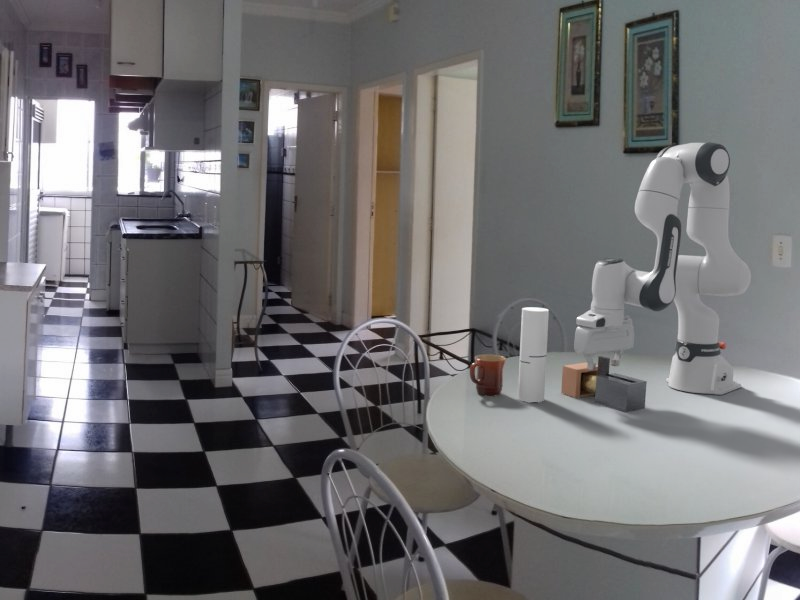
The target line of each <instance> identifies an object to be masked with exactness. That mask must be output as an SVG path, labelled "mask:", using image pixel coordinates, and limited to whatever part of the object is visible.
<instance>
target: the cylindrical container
mask: <svg viewBox="0 0 800 600" xmlns="http://www.w3.org/2000/svg"><path fill="white" fill-rule="evenodd" d="M549 313H550V310H549V309H548V308H545V307H544V308H543V307H536V306H535V307H534V306H530V307H527V306H525V307H522V308H521V324H520V341H519V342H520V344H519V345H520V346H519V361H518V363H519V365H518V367H519V368H518V386H517V399H519V400H518V401H520V400H521V402H523V401H525V403H530V402H538V403H542V401H543V402H544V401H545V391H546V389H545V387H546V370H547V369H546V368H547V353H548V352H547V350H548V332H549V331H548V330H549V315H550V314H549Z"/></svg>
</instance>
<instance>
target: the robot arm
mask: <svg viewBox="0 0 800 600" xmlns="http://www.w3.org/2000/svg"><path fill="white" fill-rule="evenodd" d="M730 163H731V158H730V154H729V152H728V150H727V148H726V147H725V146H724V145H723V144H720V143H717V142H713V141H712V142H711V141H709V142H689V143H683V144H678V145H676V144H675V145H670V146H666V147H664V148H663V149H662V150H660V151H659V152H658V154H657V155H656V158H655V159H652V161H651V162H650V163H649V165H648V167H647V168H646V171H645V173H644V175H643V176H642V177H643V178H642V179H641V180H642V181H641V183H640V185H639V189H638V192H637V195H636V197H635V203H634V214H635V216H636V218H637V220H638V221H639V222H640V223H641V224H642V226H645V228H647V229H649V230H650V231H652V232H653V234H654V235H655V236H656V239H657V246H656V251H655V252H656V253H655V260H654V267H653V269H652V271H645V270H644V271H643V270H639V269H635V268H633V267H631V266H630V265H628V264H627V263H626V262H625V259H623V258H621V257H606V258H602V259H600V260H598V261H597V262H596V264H595V266H594V269H593V272H592V273H593V274H592V281H591V294H592V299H591V300H592V301H591V304H590V310H589V309H588V311H585V312H584V313H583V314H581V315H579V316H578V317H576V320H575V323H576V325H578V326H577V327H576V328H575V333H574V344H573V347H574V349H573V350H574V351H575V353H577V354H578V355H582V356H584V358H585V361H586V362H587V363H588V364H587V368H588V369H589V370H594V369H596V365H597V363H596V362H594V358H595V355H596V354H603V353H611V352H614V353H615V354H614V357H613V358H610V364H611V365H610V366H612V367H619V366H620V363H621V359H622V357H623V355H624V353H625V352H624V351H625V350H631V349H633V347H634V345H635V329H634V328H635V327H634V325H633V319H632V318H631V317H630V316H629V315H625V304H627V305H631V306H636V307H639V308H644V309H646V310H651V311H654V312H661V311H664V310H665V309H667V308H668V307H669V306H670V305H671V304H672V303H673V302H674V304H675V306H676V309H677V316H678V317H677V319H678V321H677V322H678V325H677V328H678V329H677V338H676V340H675V343H674V346H675V347H674V351H675V354H673V356H672V359H671V364H670V369H669V370H670V372H669V376H668V377H666V380H665V381H666V382H667V385H668V386H669V388H672V389H675V390H678V391H682V392H685V393H686V392H687V393H693V394H695V393H696V394H709V395H720V396H721V395H725V394H727V393H729V392H732V391H736V390H737V389H741V388H742V383H740V382H738V381H735V380H734V367H733V366H732V365H731V364H730V363H729V362H728V360H726V358H724V357H723V356H722V355H721V353H722V352H721V350H723V351H725V350H726V348H727V344H726V342H722V341H718V340H719V339H718V338H719V331H720V330H719V329H720V317H719V315H718V313H717V312H716V311H715V310H714V309H713V308H711V307H709V306H707V305H705V304H704V303H703V302H702V300H701V297H700V295H708V296H719V297H730V296H731V297H732V296H740V295H742V294H744V293H745V292H746V291H747V290H748V288H749V286H750V284H751V279H752V273H751V270H750V268H749V266H748V264H747V263H746V262H745V261H743V259H741V258H740V256H738V254H736V252H735V250H734V249H733V247H732V245H731V242H730V237H729V236H730V235H729V217H730V201H731V200H730V198H731V197H730V196H731V194H730V180H729V176H728V175H727V174H728V172H729V168H730V165H731V164H730ZM684 184H689V187H690V194H689V198H688V199H689V201H688V209H687V220H686V235H687V236H688V238H689V240H691V241H693V242H694V243H697V244H698V245H700V246H702V248H704V250H705V255H704V256H702V255H689V254H688V255H687V254H685V255H684V254H680V247H681V246H680V245H681V238H682V222H681V220H680V218H679V216H678V205H679V201H680V197H681V194H682V188H683V185H684Z"/></svg>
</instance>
